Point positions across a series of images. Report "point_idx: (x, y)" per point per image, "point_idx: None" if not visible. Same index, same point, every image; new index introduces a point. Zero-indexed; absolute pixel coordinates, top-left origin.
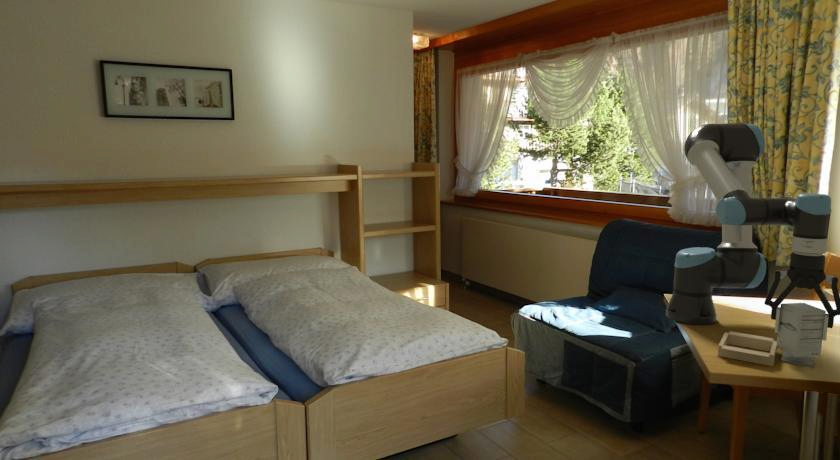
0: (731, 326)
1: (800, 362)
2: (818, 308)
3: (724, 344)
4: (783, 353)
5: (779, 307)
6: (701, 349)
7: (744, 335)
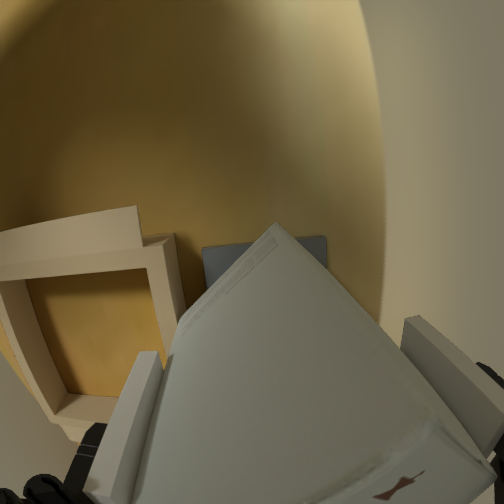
0: (7, 38)
1: None
2: (481, 482)
3: (41, 375)
4: (209, 272)
5: (106, 501)
6: (17, 370)
7: (32, 259)
